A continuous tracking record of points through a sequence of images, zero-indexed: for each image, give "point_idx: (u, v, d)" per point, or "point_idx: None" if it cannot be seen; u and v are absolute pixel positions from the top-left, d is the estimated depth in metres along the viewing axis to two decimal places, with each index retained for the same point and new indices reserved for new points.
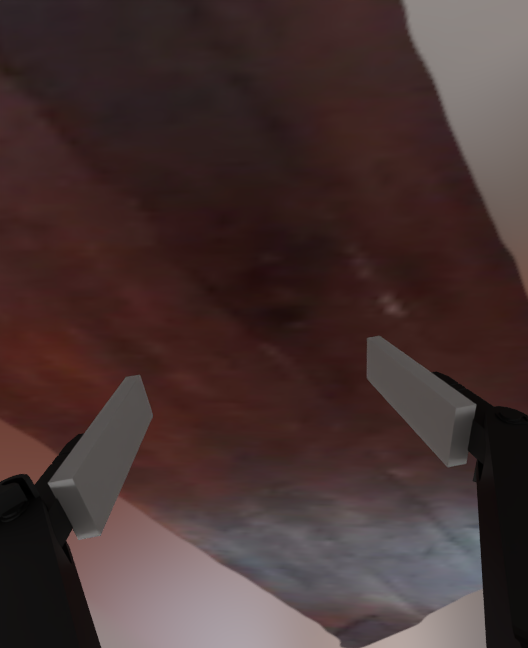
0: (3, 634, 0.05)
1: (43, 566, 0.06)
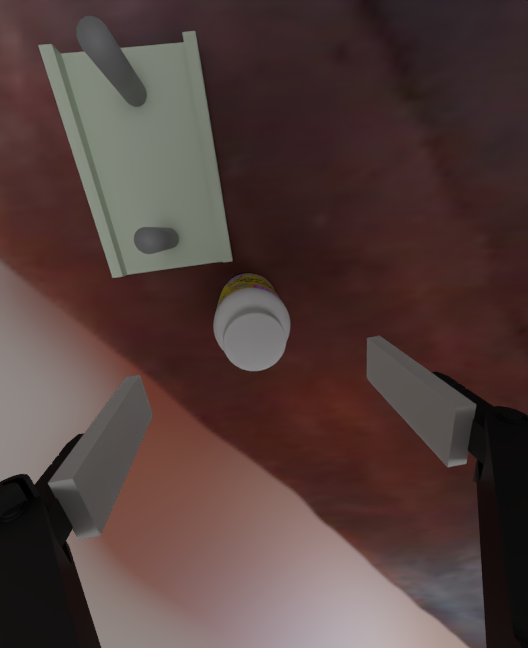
0: (3, 634, 0.05)
1: (43, 566, 0.06)
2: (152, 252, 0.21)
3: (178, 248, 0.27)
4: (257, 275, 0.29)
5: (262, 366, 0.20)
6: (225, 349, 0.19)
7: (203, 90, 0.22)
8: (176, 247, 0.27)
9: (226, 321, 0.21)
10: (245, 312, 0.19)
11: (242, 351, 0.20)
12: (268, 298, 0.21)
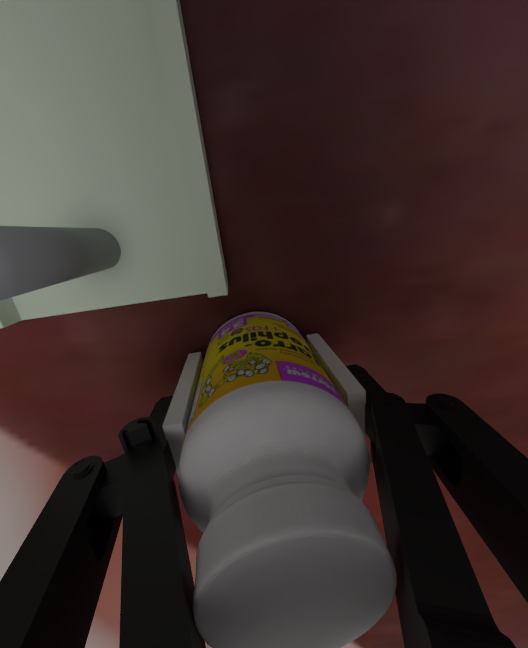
0: (131, 540, 0.07)
1: (159, 497, 0.08)
2: None
3: (121, 268, 0.14)
4: (274, 316, 0.16)
5: None
6: (201, 631, 0.06)
7: None
8: (116, 267, 0.14)
9: (209, 486, 0.08)
10: (268, 520, 0.06)
11: (257, 627, 0.06)
12: (323, 420, 0.08)
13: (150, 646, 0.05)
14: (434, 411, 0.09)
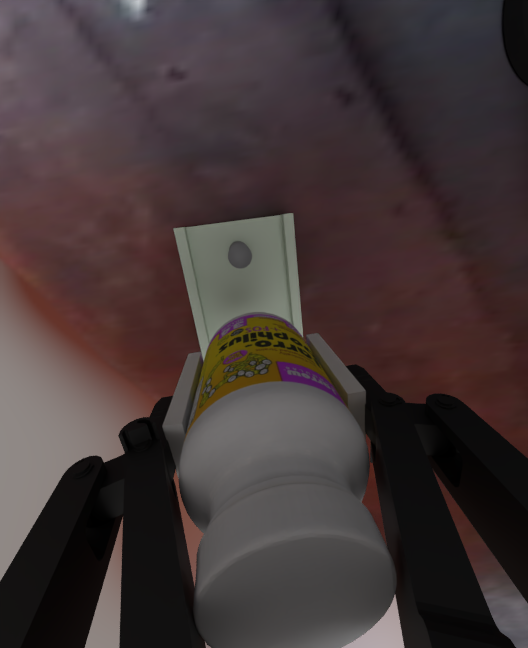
0: (131, 540, 0.07)
1: (159, 497, 0.08)
2: None
3: None
4: (274, 317, 0.16)
5: None
6: (201, 632, 0.06)
7: (295, 251, 0.28)
8: None
9: (209, 487, 0.08)
10: (268, 521, 0.06)
11: (257, 628, 0.06)
12: (323, 421, 0.08)
13: (150, 646, 0.05)
14: (434, 411, 0.09)
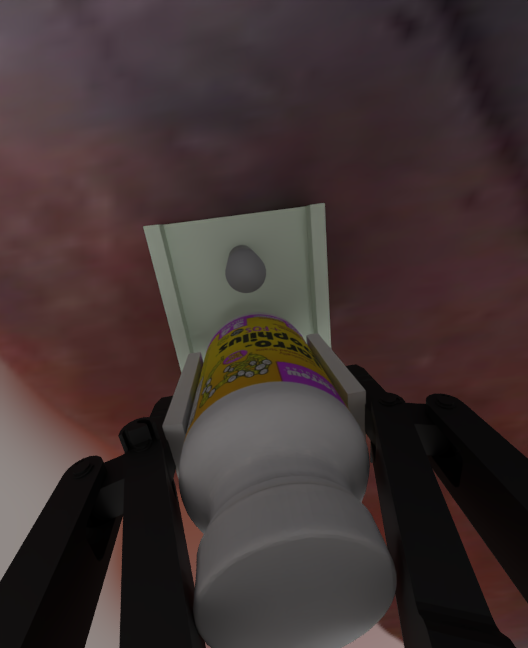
0: (131, 540, 0.07)
1: (159, 497, 0.08)
2: None
3: None
4: (274, 317, 0.16)
5: None
6: (201, 632, 0.06)
7: (325, 260, 0.19)
8: None
9: (209, 487, 0.08)
10: (268, 521, 0.06)
11: (257, 628, 0.06)
12: (323, 421, 0.08)
13: (150, 646, 0.05)
14: (434, 411, 0.09)
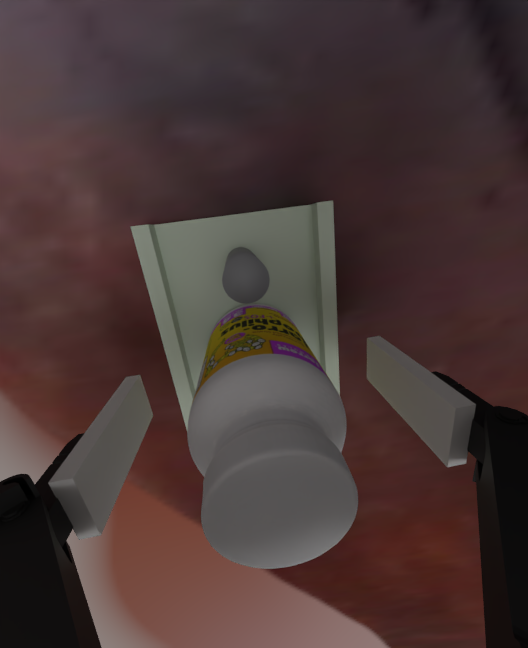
0: (3, 634, 0.05)
1: (43, 566, 0.06)
2: None
3: None
4: (270, 308, 0.18)
5: (299, 559, 0.08)
6: (207, 533, 0.08)
7: (333, 264, 0.17)
8: None
9: (213, 435, 0.10)
10: (258, 446, 0.07)
11: (250, 533, 0.08)
12: (305, 384, 0.10)
13: None
14: None
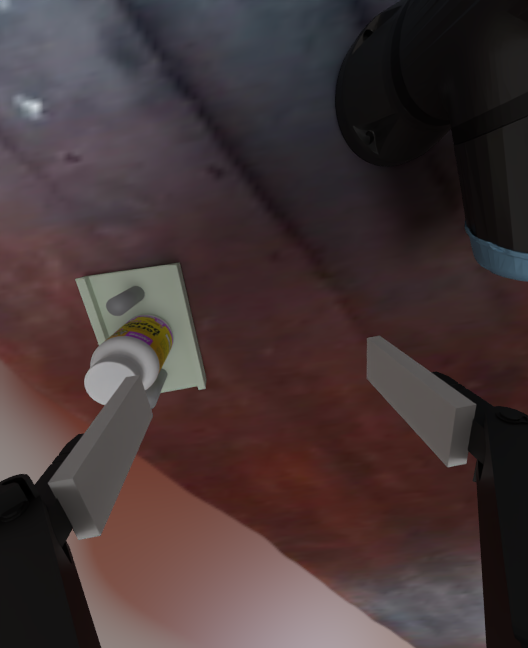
0: (3, 634, 0.05)
1: (42, 566, 0.06)
2: None
3: (167, 379, 0.39)
4: (151, 316, 0.35)
5: None
6: (87, 390, 0.24)
7: (182, 294, 0.34)
8: (165, 379, 0.39)
9: None
10: (101, 361, 0.24)
11: (101, 391, 0.25)
12: (131, 346, 0.27)
13: None
14: None
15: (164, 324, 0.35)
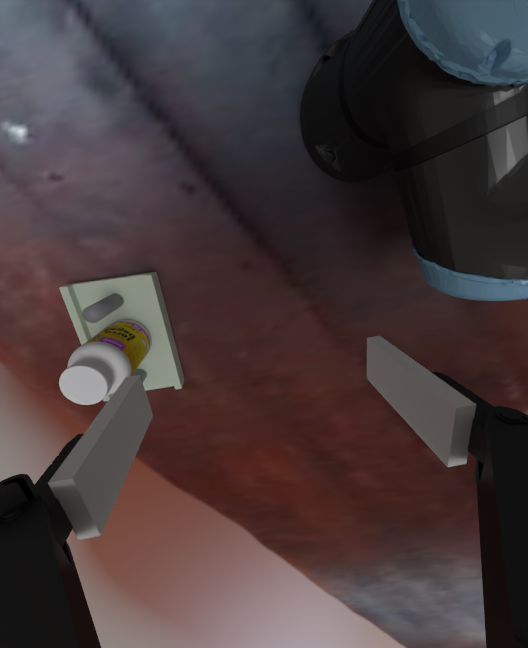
0: (3, 634, 0.05)
1: (42, 566, 0.06)
2: None
3: (146, 379, 0.42)
4: (129, 322, 0.38)
5: (93, 401, 0.28)
6: (61, 390, 0.28)
7: (157, 301, 0.37)
8: (145, 379, 0.42)
9: None
10: (73, 365, 0.27)
11: (74, 391, 0.28)
12: (103, 351, 0.30)
13: None
14: None
15: (141, 329, 0.38)
